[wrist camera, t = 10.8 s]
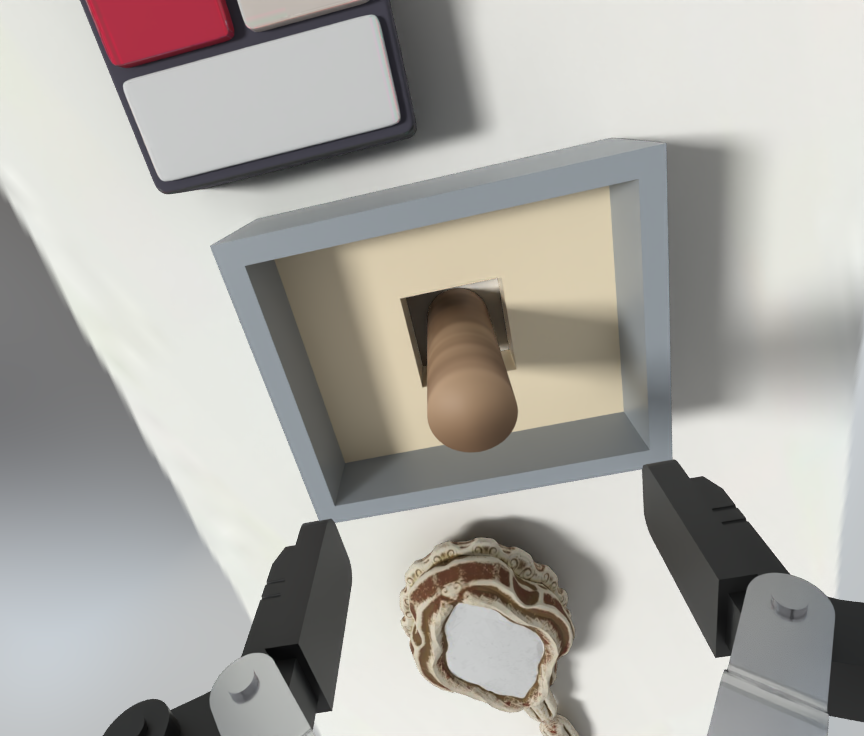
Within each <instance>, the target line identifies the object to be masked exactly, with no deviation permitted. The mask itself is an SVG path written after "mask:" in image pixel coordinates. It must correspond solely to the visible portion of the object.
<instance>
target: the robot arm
mask: <svg viewBox="0 0 864 736" xmlns="http://www.w3.org/2000/svg"><path fill="white" fill-rule="evenodd" d="M642 478H643V502H644V515H645V520H646V524H647V527H648V530H649V533H650V535H651V537H652V539H653V541H654V543H655V545H656V547H657V549H658V550H659V552H660V554H661V556H662V558H663V560H664V562H665V564H666V566H667V567H668V569H669V571H670V573H671V575H672V577H673V579H674V581H675V583H676V584H677V586H678V588H679V590H680V592H681V594H682V596H683V598H684V600H685V601H686V603H687V605H688V607H689V609H690V611H691V613H692V615H693V617H694V618H695V620H696V622H697V624H698V626H699V628H700V630H701V632H702V634H703V635H704V637H705V639H706V641H707V643H708V645H709V647H710V649H711V650H712V652H713V654H714V656H715V658H718V657H725V656H731V657H730V661H729V665H728V669H727V670H724V672H723V675H722V678H721V682H720V686H719V690H718V694H717V698H716V702H715V706H714V710H713V714H712V718H711V722H710V726H709V730H708V734H707V736H827V735H828V723H829V722H828V721H829V716H834V717H839V718H844V719H849V720H855V721H860V722H864V603H861V602H852V601H845V600H839V599H835V598H831V597H827V596H826V595H825V594H824V593H823V592H822V591H821V590H820V589H819V588H817V587H816V586H815V585H813V584H811V583H810V582H808V581H806V580H804V579H802V578H799V577H796V576H793V575H790V573H789V572H788V571H787V570H786V569H785V567H784V566H783V565H782V564H781V562H780V561H779V560H778V559H777V557H776V556H775V555H774V553H773V552H772V551H771V550H770V548H769V547H768V546H767V545H766V543H765V542H764V541H763V539H762V538H761V537H760V536H759V534H758V533H757V532H756V531H755V529H754V528H753V527H752V525H751V524H750V523H749V522H747V521H746V518H745V517H744V515H743V514H742V513H741V511H740V510H739V509H738V508H736V506H735V504H734V503H733V501H732V500H731V499H730V497H729V496H728V495H727V494H726V492H725V491H724V490H723V489H722V488H721V487H719V486H718V485H716V484H714V483H713V482H711V481H710V480H708V479H706V478H705V477H703V476H701V477H696V478H689V477H688V475H687V474H686V473H685V471H684V470H683V468H682V467H681V466H680V464H679V463H678V462H677V461H676V460H668V461H662V462H656V463H651V464H645V465H643V468H642ZM351 586H352V570H351V564H350V560H349V558H348V555H347V552H346V550H345V547H344V545H343V542H342V540H341V537H340V534H339V532H338V529H337V527H336V524H335V522H334V521H333V520H332V519H326V520H320V521H314V522H309V523H304V524H303V525H302V526H301V529H300V532H299V535H298V539H297V542H296V545H294V546H288V547H285V548H284V550H283V551H282V552H281V554H280V555H279V556H278V557H277V559H276V560H275V561H274V563H273V564H272V567H271V570H270V573H269V576H268V579H267V585H265V588H264V591H263V594H262V600H260V603H259V606H258V609H257V612H256V615H255V618H254V621H253V624H252V626H251V630H250V632H249V635H248V638H247V641H246V644H245V647H244V650H243V654H242V656H241V658H239V659H237V660H235V661H234V662H233V663H231V664H230V665H229V666H228V667H227V668H226V669H225V670H224V671H223V672H222V673H221V674H220V675H219V677H218V678H217V680H216V682H215V683H214V685H213V687H212V690H211V691H210V692H208V693H206V694H204V695H202V696H200V697H198V698H196V699H194V700H191V701H189V702H187V703H185V704H183V705H181V706H179V707H177V708H174V709H172V710H170V709H169V708H168V707H167V706H166V704H165V703H164V702H162V701H161V700H158V699H150V700H145V701H142V702H140V703H137V704H135V705H134V706H132V707H130V708H129V709H127V710H126V711H124V712H123V713H122V714H121V715H120V716H119V717H118V718H117V719H116V720H115V721H114V722H113V723H112V724H111V725H110V726H109V728H108V729H107V730H106V732H105V733H104V735H103V736H315V734H314V733H313V725H314V720H315V714H316V713H321V712H328V711H332V708H333V701H334V695H335V689H336V682H337V676H338V669H339V663H340V657H341V650H342V644H343V637H344V631H345V624H346V618H347V612H348V605H349V599H350V592H351Z"/></svg>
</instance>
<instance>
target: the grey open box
mask: <svg viewBox="0 0 864 736" xmlns="http://www.w3.org/2000/svg"><path fill="white" fill-rule="evenodd" d="M210 247H211V250H212V252H213V255H214V257H215V260H216V262H217V265H218V267H219V270H220V272H221V275H222V277H223V280H224V282H225V285H226V287H227V290H228V293H229V295H230V298H231V300H232V303H233V305H234V308H235V310H236V313H237V315H238V318H239V320H240V323H241V325H242V328H243V330H244V333H245V335H246V338H247V340H248V343H249V345H250V348H251V350H252V353H253V355H254V358H255V360H256V363H257V365H258V368H259V370H260V373H261V375H262V378H263V381H264V383H265V386H266V388H267V391H268V393H269V396H270V398H271V401H272V403H273V406H274V408H275V411H276V413H277V416H278V418H279V421H280V423H281V426H282V428H283V431H284V433H285V436H286V438H287V441H288V443H289V446H290V448H291V451H292V453H293V456H294V458H295V461H296V463H297V466H298V469H299V471H300V474H301V476H302V479H303V481H304V484H305V486H306V489H307V491H308V494H309V496H310V499H311V501H312V504H313V506H314V509H315V511H316V514H317V516H318V519H319V521H320V520H326V519H332V520H333V521H334V522H335V523H337V522H343V521H349V520H354V519H360V518H366V517H372V516H377V515H383V514H389V513H394V512H400V511H406V510H412V509H417V508H423V507H429V506H434V505H440V504H446V503H452V502H457V501H463V500H469V499H474V498H480V497H486V496H491V495H497V494H503V493H509V492H514V491H520V490H526V489H531V488H537V487H543V486H549V485H554V484H560V483H566V482H571V481H577V480H583V479H589V478H594V477H600V476H606V475H611V474H617V473H623V472H628V471H634V470H640V469H642V468H643V465H645V464H651V463H656V462H662V461H668V460H672V415H671V362H670V309H669V256H668V203H667V150H666V143H661V142H651V141H640V140H629V139H619V138H609V139H604V140H600V141H596V142H591V143H587V144H582V145H578V146H574V147H569V148H565V149H561V150H556V151H552V152H547V153H543V154H539V155H534V156H530V157H526V158H521V159H517V160H512V161H508V162H504V163H499V164H495V165H491V166H486V167H482V168H477V169H473V170H469V171H464V172H460V173H456V174H451V175H447V176H442V177H438V178H434V179H429V180H425V181H420V182H416V183H412V184H407V185H403V186H399V187H394V188H390V189H385V190H381V191H377V192H372V193H368V194H364V195H359V196H355V197H350V198H346V199H342V200H337V201H333V202H329V203H324V204H320V205H315V206H311V207H307V208H302V209H298V210H294V211H289V212H285V213H280V214H276V215H272V216H267V217H263V218H259V219H256V220H254V221H252V222H251V223H249V224H247V225H245V226H244V227H242V228H240V229H239V230H237V231H235V232H233V233H232V234H230V235H228V236H226V237H225V238H223V239H221V240H220V241H218V242H216V243H214V244H213V245H211V246H210ZM496 278H498V283H499V289H500V295H501V301H502V307H503V314H504V320H505V326H506V332H507V338H508V344H509V350H504V351H501V354H502V357H503V361H504V364H505V367H506V370H507V373H508V376H509V380H510V383H511V386H512V389H513V392H514V395H515V399H516V402H517V406H518V417H517V422H516V425H515V427H514V429H513V431H512V432H511V434H510V435H509V436H508V437H507V438H506V439H505V440H504V441H503V442H502V443H500V444H499V445H497V446H495V447H493V448H491V449H488V450H485V451H481V452H471V453H468V452H461V451H457V450H454V449H451V448H449V447H447V446H445V445H444V444H442V443H441V442H440V441H439V440H438V439H437V438H436V437H435V436H434V434H433V433H432V431H431V429H430V427H429V424H428V419H427V366H423V365H422V361H421V357H420V353H419V349H418V345H417V341H416V337H415V333H414V329H413V325H412V321H411V317H410V313H409V309H408V304H407V300H406V297H410V296H415V295H419V294H424V293H429V292H434V291H438V290H443V289H448V288H453V287H457V286H462V285H467V284H472V283H476V282H481V281H486V280H491V279H496Z"/></svg>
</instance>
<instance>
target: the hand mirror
mask: <svg viewBox="0 0 864 736" xmlns="http://www.w3.org/2000/svg"><path fill="white" fill-rule="evenodd" d="M405 581H406V587H405V588H404V589H403V590H402V591H401V592H400V609H401V611H402V612H403V614H404V617H403V618H402V619H401V625H402V627H403V629H404V631H405V633H406V635H407V636H408V637H409V638H410V644H409V646H410V649H411V652H412V654H413V657H414V660H415V663H416V665H417V668H418V670H419V672H420V674H421V675H422V676H423V677H424V678H425V679H426V680H427V681H429V682H430V683H431V684H432V685H434V686H436V687H438V688H440V689H442V690H445V691H449V692H452V693H453V692H456V693H460V694H463V695H466V696H469V697H471V698H473V699H476V700H479V701H483V702H485V703H488V704H489V705H490V706H492V707H494V708H496V709H498V710H501V711H505V712H510V713H511V712H519V711H521V710H523V709H524V710H525V711H526V713H527V714H528V715H529V716H530V717H531V718H533V719H534V720H536V721H539V722H541V723H540V726H539V727H540V731H541V733H542V734H543V736H579V735H578V733H577V731H576V730H575V729H574V727H573V726H572V724H571V723H570V722H569V721H568V720H567V718H565V717H564V716H561V715H557V713H556V711H557V703H556V701H555V699H554V697H553V694H552V692H551V690H550V686H551V685H552V684H553V683H554V681H555V679H556V671H557V666H558V664H557V660H558V659H559V658H560V657H562V656H564V655H566V654H567V653H568V652H569V650H570V648H571V646H572V643H573V640H574V638H575V628H574V626H573V623H572V621H571V613H570V611H569V610H568V609H567V608H566V606H567V603H568V596H567V593H566V591H565V590H564V589H562V588H560V587H558V578H557V575H556V574H555V573H554V572H553V571H552V570H551V569H550V567H549V566H547V565H544V564H538V563H535V562H534V561H533V559H532V557H531V556H530V554H529V553H527V552H525V551H523V550H522V549H520V548H518V547H506V546H503V545H500V544H498V543H497V542H496V541H495V540H494V539H490V538H475V539H473V540H470V541H463V542H453V541H447V542H444V543H442V544H439V545H437V546H435V548H434V549H433V551H432V552H431V553H430V554H429V555H427V556H426V557H425V558H423V559H420V560H417V561H415V562H414V563H413V564H412V565H411V566H410V568H409V569H408V571H407V572H406V574H405Z"/></svg>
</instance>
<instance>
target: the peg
mask: <svg viewBox="0 0 864 736" xmlns="http://www.w3.org/2000/svg"><path fill="white" fill-rule="evenodd" d="M517 417H518V406H517V402H516V399H515V395H514V392H513V389H512V386H511V383H510V380H509V376H508V373H507V370H506V367H505V364H504V361H503V357H502V354H501V351H500V348H499V345H498V342H497V338H496V335H495V332H494V329H493V326H492V323H491V319H490V316H489V313H488V310H487V307H486V305H485V303H484V301H483V300H482V298H481V297H480V296H479V295H477V294H476V293H474V292H473V291H470V290H468V289H463V288H454V289H449V290H446V291H444V292H442V293H441V294H439V295H438V296H437V297H436V298H435V299H434V300H433V301H432V303H431V305H430V307H429V310H428V315H427V419H428V424H429V427H430V429H431V431H432V433H433V434H434V436H435V437H436V438H437V439H438V440H439V441H440V442H441V443H442V444H444V445H445V446H447V447H449V448H451V449H454V450H457V451H461V452H468V453H471V452H481V451H485V450H488V449H491V448H493V447H495V446H497V445H499V444H500V443H502V442H503V441H504V440H505V439H506V438H507V437H508V436H509V435H510V434H511V432H512V431H513V429H514V427H515V425H516V422H517Z"/></svg>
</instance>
